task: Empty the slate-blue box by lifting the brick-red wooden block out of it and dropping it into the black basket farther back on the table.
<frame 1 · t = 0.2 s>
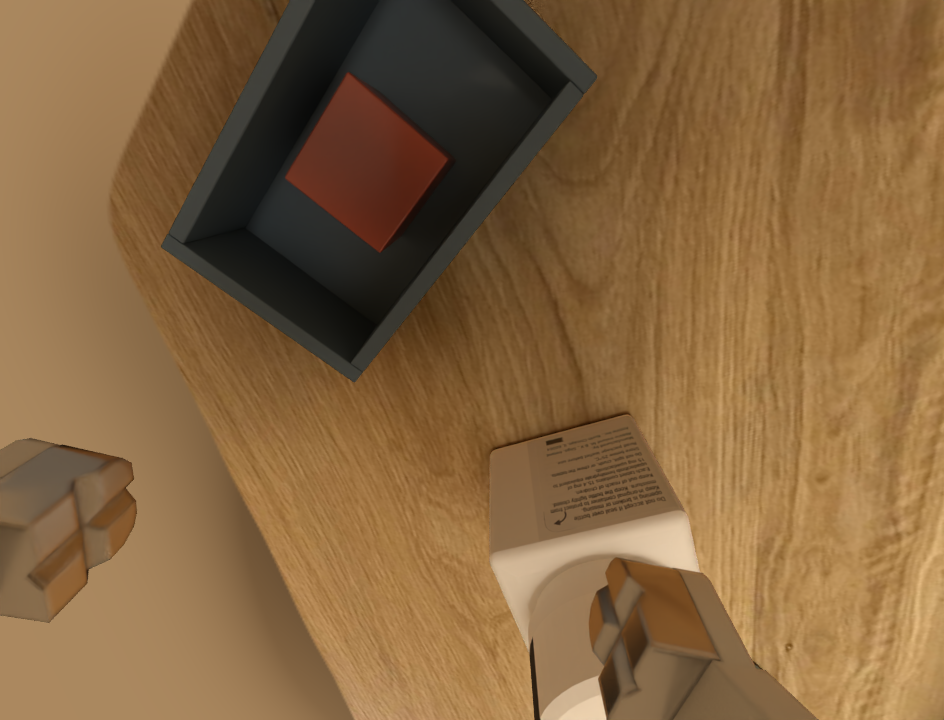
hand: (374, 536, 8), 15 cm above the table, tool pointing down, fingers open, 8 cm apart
block: (389, 167, 19), point 1 cm above the table, touching box
container: (575, 484, 26), on the table
box: (392, 167, 20), on the table
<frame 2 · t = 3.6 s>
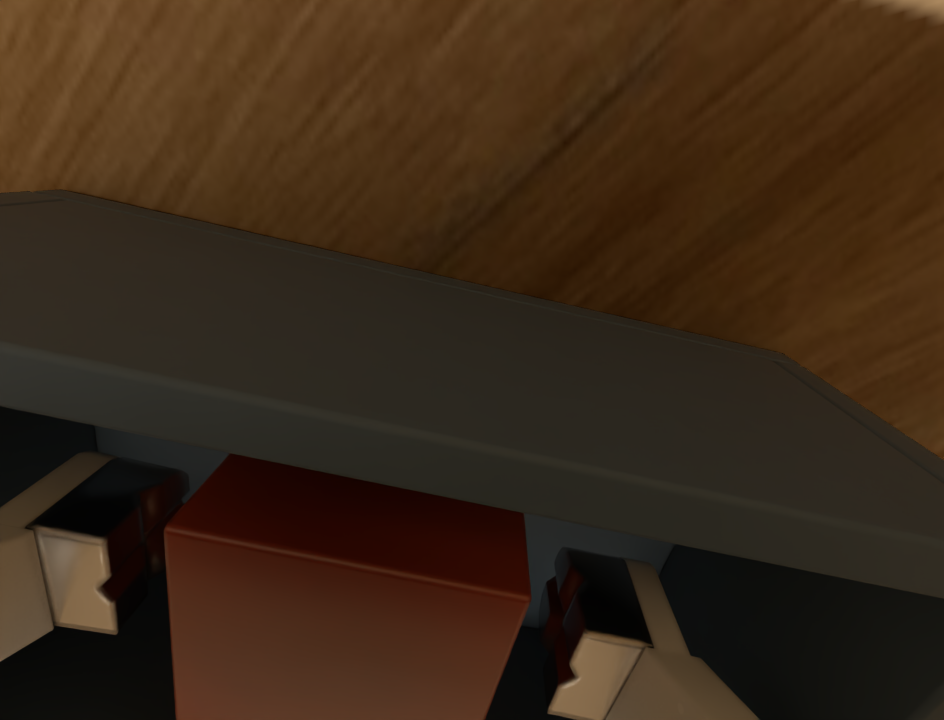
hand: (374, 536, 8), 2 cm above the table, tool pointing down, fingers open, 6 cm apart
block: (395, 476, 9), point 1 cm above the table, touching box
box: (400, 459, 10), on the table
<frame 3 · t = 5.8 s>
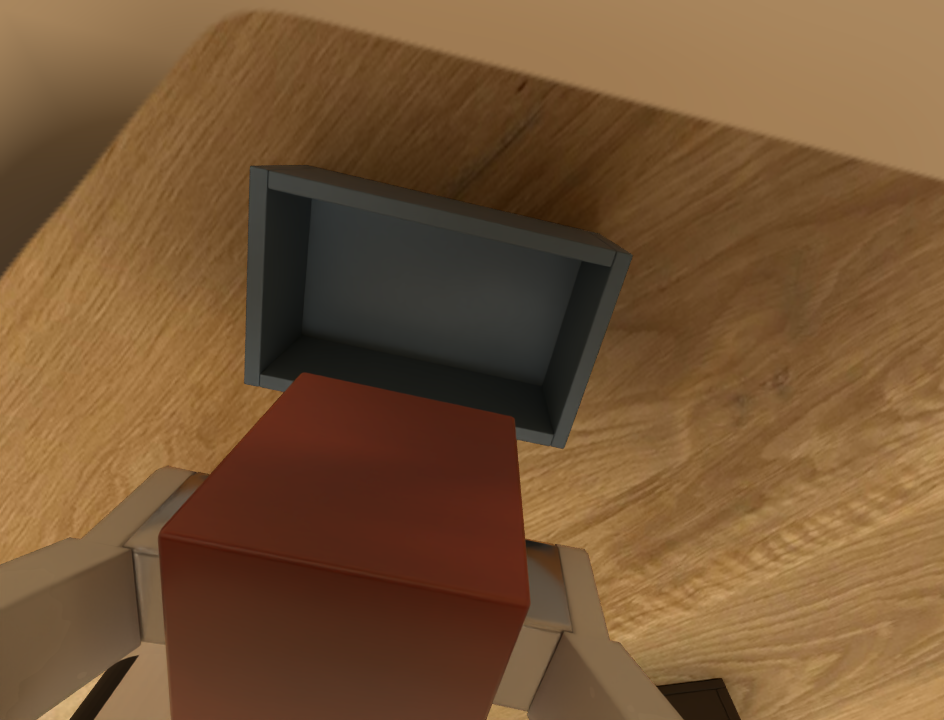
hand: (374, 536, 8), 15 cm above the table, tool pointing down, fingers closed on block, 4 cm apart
block: (393, 479, 9), point 14 cm above the table, touching gripper
container: (275, 535, 28), on the table
box: (438, 289, 22), on the table
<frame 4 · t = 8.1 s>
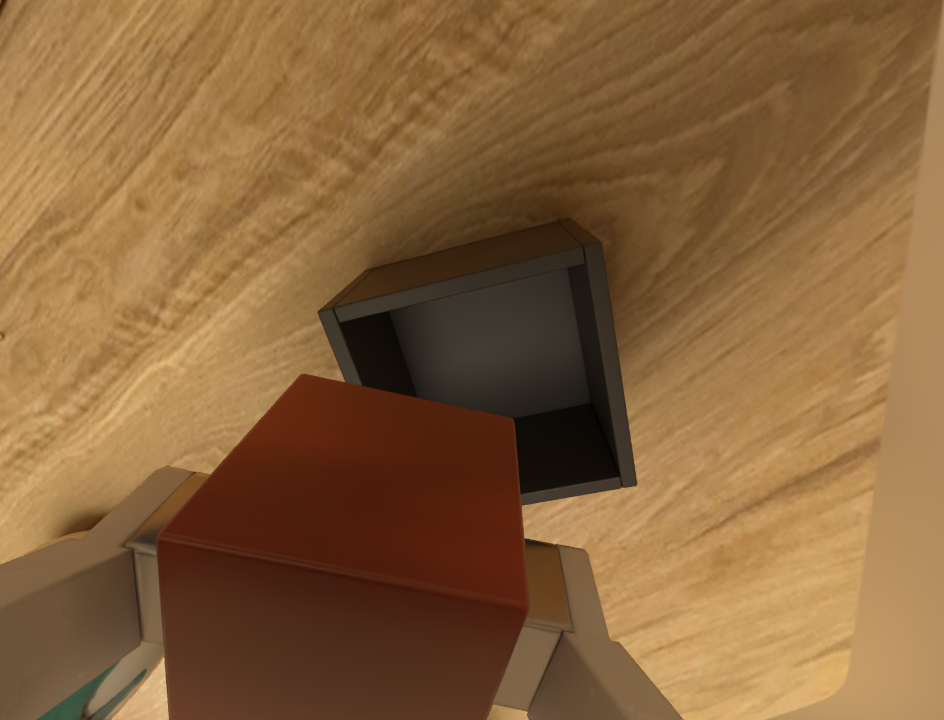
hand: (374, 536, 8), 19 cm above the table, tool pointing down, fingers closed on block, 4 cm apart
vase: (133, 563, 36), on the table
basket: (489, 341, 27), on the table
block: (393, 480, 9), point 18 cm above the table, touching gripper
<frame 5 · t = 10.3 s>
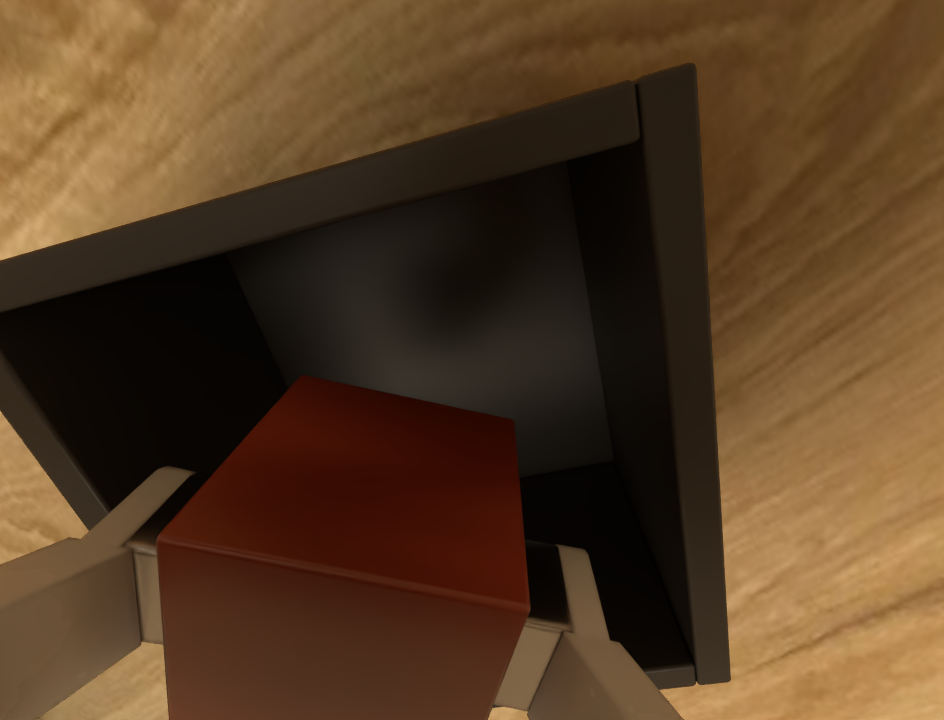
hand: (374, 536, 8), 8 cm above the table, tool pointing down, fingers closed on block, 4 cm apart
basket: (436, 354, 15), on the table
block: (393, 481, 9), point 7 cm above the table, touching gripper
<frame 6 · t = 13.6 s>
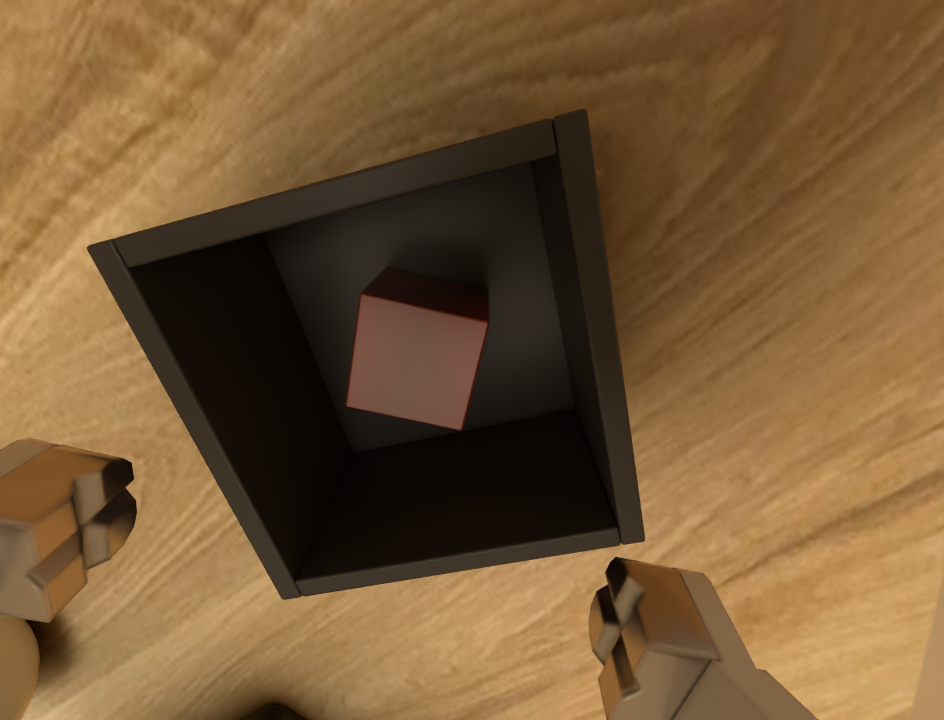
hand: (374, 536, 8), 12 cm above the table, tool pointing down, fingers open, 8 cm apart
basket: (431, 320, 19), on the table
block: (428, 326, 18), point 1 cm above the table, touching basket
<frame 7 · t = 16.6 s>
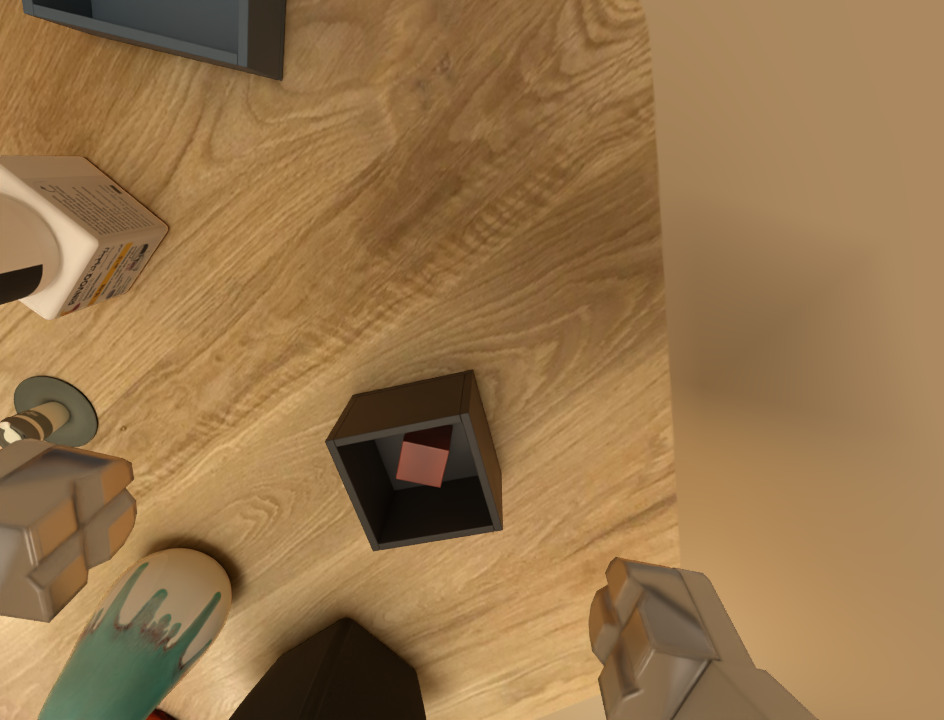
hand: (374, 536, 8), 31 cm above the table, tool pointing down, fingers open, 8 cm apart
vase: (195, 570, 52), on the table
basket: (429, 435, 44), on the table
block: (428, 439, 43), point 1 cm above the table, touching basket
coffee cup: (61, 409, 44), on the table
flower pot: (349, 661, 57), on the table
container: (108, 227, 37), on the table
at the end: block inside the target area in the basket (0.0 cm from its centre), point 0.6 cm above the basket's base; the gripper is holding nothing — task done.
